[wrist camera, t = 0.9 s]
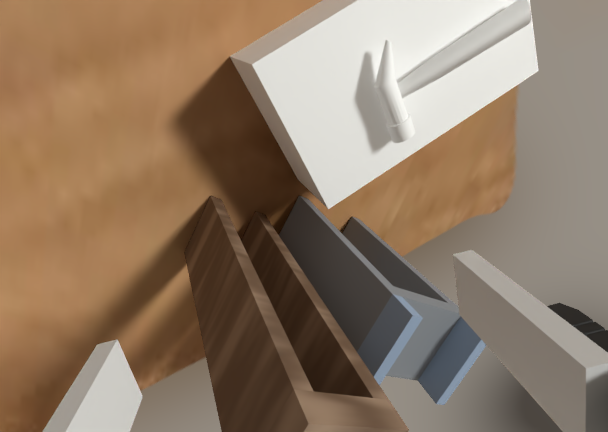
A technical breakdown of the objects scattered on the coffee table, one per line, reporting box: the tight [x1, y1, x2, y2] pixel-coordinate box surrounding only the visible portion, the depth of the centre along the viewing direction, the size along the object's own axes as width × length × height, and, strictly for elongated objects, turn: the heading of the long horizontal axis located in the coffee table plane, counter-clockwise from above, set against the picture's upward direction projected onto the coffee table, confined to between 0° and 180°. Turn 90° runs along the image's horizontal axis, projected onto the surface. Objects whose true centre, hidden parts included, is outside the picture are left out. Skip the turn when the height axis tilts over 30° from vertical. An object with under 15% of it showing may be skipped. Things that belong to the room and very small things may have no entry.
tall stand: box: [184, 196, 409, 432], centre depth 32 cm, size 6×7×28 cm
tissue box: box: [230, 0, 538, 209], centre depth 37 cm, size 14×25×11 cm, turn 117°
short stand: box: [279, 196, 486, 405], centre depth 39 cm, size 9×7×22 cm
